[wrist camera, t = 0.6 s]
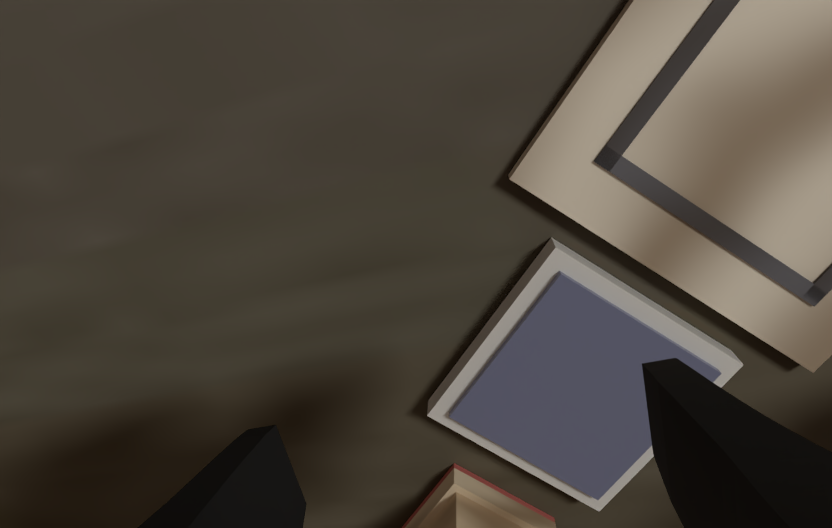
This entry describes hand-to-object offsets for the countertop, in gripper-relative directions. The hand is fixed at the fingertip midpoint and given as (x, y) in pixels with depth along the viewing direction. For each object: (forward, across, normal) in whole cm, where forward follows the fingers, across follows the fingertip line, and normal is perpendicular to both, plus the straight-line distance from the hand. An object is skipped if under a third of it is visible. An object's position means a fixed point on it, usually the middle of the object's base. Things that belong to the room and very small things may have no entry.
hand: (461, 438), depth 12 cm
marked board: (+10, -11, -2) cm, 15 cm away
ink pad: (+10, -3, +6) cm, 12 cm away
